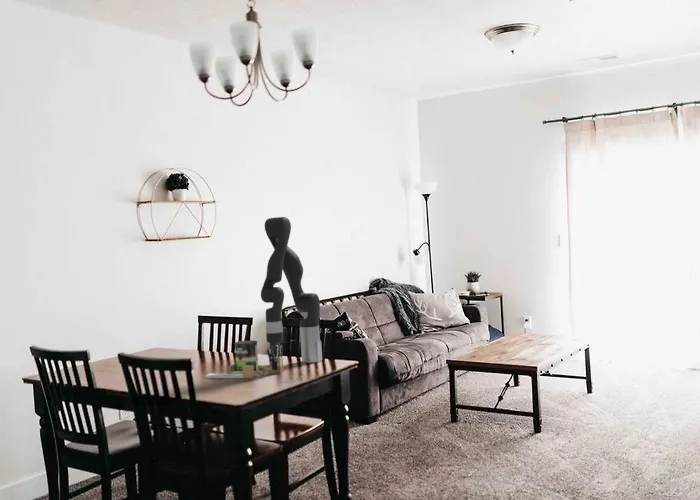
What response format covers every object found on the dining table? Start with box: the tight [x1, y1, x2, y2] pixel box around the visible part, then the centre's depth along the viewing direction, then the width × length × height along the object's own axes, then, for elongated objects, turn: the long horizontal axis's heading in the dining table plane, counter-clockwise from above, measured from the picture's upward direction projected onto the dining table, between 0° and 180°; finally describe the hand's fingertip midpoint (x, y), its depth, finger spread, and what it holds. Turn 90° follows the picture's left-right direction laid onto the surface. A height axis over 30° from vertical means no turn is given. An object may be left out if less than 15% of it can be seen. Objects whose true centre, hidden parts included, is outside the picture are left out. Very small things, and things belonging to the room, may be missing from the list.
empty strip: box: [205, 365, 255, 379], centre depth 296 cm, size 22×4×5 cm, turn 75°
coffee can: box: [234, 339, 259, 371], centre depth 305 cm, size 10×10×14 cm
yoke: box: [226, 356, 284, 377], centre depth 303 cm, size 23×15×7 cm, turn 75°
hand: (276, 369), depth 301 cm, fingers closed on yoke, 3 cm apart
